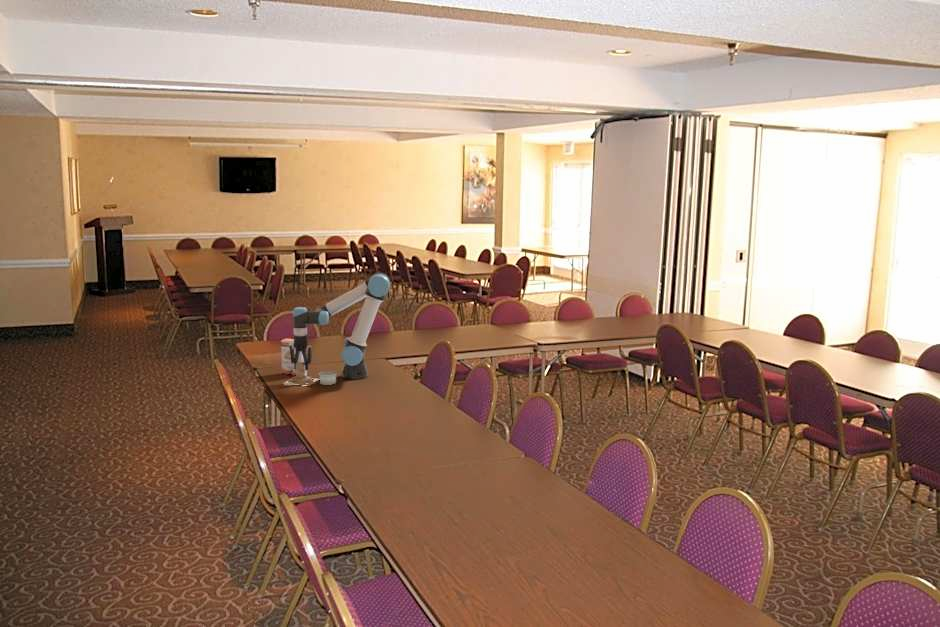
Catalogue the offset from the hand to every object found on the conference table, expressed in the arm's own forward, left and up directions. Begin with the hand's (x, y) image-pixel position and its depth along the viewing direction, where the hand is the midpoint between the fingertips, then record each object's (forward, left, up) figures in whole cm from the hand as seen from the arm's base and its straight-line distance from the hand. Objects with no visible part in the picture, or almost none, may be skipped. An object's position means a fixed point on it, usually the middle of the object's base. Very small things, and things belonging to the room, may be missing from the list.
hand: (301, 375), depth 439 cm
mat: (0, 0, -4) cm, 4 cm away
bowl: (0, +16, -4) cm, 17 cm away
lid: (0, 0, -3) cm, 3 cm away
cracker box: (-16, -12, -4) cm, 20 cm away
